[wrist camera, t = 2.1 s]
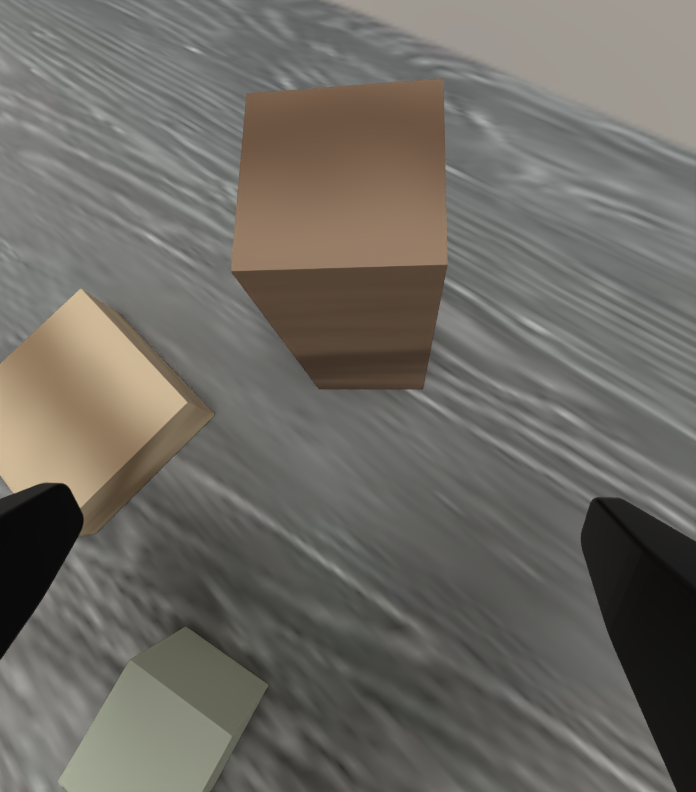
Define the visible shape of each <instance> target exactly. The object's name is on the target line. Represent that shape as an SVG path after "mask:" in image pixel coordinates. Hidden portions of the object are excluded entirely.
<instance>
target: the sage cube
mask: <svg viewBox="0 0 696 792" xmlns="http://www.w3.org/2000/svg"><path fill="white" fill-rule="evenodd" d="M267 687H268V684H267V683H265V682H264V681H262V680H261V679H259V678H258V677H257V676H255V675H254V674H252V673H251V672H250V671H248V670H247V669H245V668H244V667H243V666H241V665H240V664H238V663H237V662H235V661H234V660H233V659H231V658H230V657H228V656H227V655H226V654H224V653H223V652H221V651H220V650H218V649H217V648H216V647H214V646H213V645H211V644H210V643H209V642H207V641H206V640H204V639H203V638H201V637H200V636H199V635H197V634H196V633H194V632H193V631H192V630H190V629H189V628H187V627H184V628H182V629H181V630H179V631H177V632H176V633H174V634H172V635H171V636H169V637H167V638H165V639H164V640H162V641H160V642H159V643H157V644H155V645H154V646H152V647H150V648H149V649H147V650H145V651H144V652H142V653H140V654H139V655H137V656H135V657H133V658H132V659H130V660H129V662H128V664H127V665H126V667H125V669H124V670H123V672H122V674H121V676H120V677H119V679H118V681H117V682H116V684H115V686H114V687H113V689H112V691H111V693H110V694H109V696H108V698H107V699H106V701H105V703H104V704H103V706H102V708H101V710H100V711H99V713H98V715H97V716H96V718H95V720H94V721H93V723H92V725H91V726H90V728H89V730H88V732H87V733H86V735H85V737H84V738H83V740H82V742H81V743H80V745H79V747H78V749H77V750H76V752H75V754H74V755H73V757H72V759H71V760H70V762H69V764H68V766H67V767H66V769H65V771H64V772H63V774H62V776H61V777H60V779H59V781H58V783H59V784H60V785H61V786H62V787H63V788H65V789H66V790H67V791H68V792H211V790H212V789H213V787H214V785H215V783H216V781H217V780H218V778H219V776H220V774H221V772H222V770H223V768H224V767H225V765H226V763H227V761H228V759H229V757H230V756H231V754H232V752H233V750H234V748H235V746H236V744H237V743H238V741H239V739H240V737H241V735H242V733H243V732H244V730H245V728H246V726H247V724H248V722H249V720H250V719H251V717H252V715H253V713H254V711H255V709H256V707H257V706H258V704H259V702H260V700H261V698H262V696H263V695H264V693H265V691H266V689H267Z"/></svg>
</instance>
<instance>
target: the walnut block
mask: <svg viewBox="0 0 696 792" xmlns="http://www.w3.org/2000/svg"><path fill="white" fill-rule="evenodd" d="M446 269H447V221H446V173H445V126H444V79H430V80H417V81H404V82H390V83H377V84H364V85H351V86H338V87H325V88H311V89H298V90H285V91H272V92H259V93H247V94H246V105H245V116H244V127H243V139H242V150H241V161H240V172H239V183H238V195H237V206H236V217H235V228H234V239H233V251H232V262H231V272H232V274H233V275H234V276H235V278H236V279H237V280H238V282H239V283H240V284H241V286H242V287H243V288H244V290H245V291H246V292H247V294H248V295H249V296H250V298H251V299H252V300H253V302H254V303H255V304H256V306H257V307H258V308H259V310H260V311H261V312H262V314H263V315H264V316H265V318H266V319H267V320H268V322H269V323H270V324H271V326H272V327H273V328H274V330H275V331H276V332H277V334H278V335H279V336H280V338H281V339H282V340H283V342H284V343H285V344H286V346H287V347H288V348H289V350H290V351H291V352H292V354H293V355H294V356H295V358H296V359H297V360H298V362H299V363H300V364H301V366H302V367H303V368H304V370H305V371H306V372H307V374H308V375H309V376H310V378H311V379H312V380H313V382H314V383H315V384H316V386H317V387H318V388H319V389H423V386H424V381H425V376H426V371H427V366H428V361H429V356H430V351H431V346H432V340H433V335H434V330H435V325H436V320H437V315H438V310H439V305H440V300H441V295H442V290H443V285H444V279H445V274H446Z"/></svg>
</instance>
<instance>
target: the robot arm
mask: <svg viewBox="0 0 696 792" xmlns="http://www.w3.org/2000/svg"><path fill="white" fill-rule="evenodd" d="M83 524H84V515H83V513H82V511H81V509H80V507H79V505H78V503H77V501H76V499H75V497H74V495H73V493H72V491H71V489H70V488H69V487H68V486H67V485H66V484H64V483H48V482H45V483H41V484H37V485H35V486H32V487H30V488H27V489H24V490H22V491H19V492H17V493H14V494H12V495H9V496H6V497H4V498H1V499H0V660H1V658H2V657H3V656H4V654H5V653H6V651H7V650H8V648H9V647H10V646H11V644H12V643H13V641H14V640H15V638H16V637H17V635H18V634H19V633H20V631H21V630H22V628H23V627H24V625H25V624H26V623H27V621H28V620H29V618H30V617H31V615H32V614H33V612H34V611H35V609H36V608H37V606H38V605H39V603H40V602H41V600H42V599H43V597H44V595H45V594H46V592H47V590H48V589H49V587H50V585H51V584H52V582H53V580H54V578H55V576H56V575H57V573H58V571H59V569H60V568H61V566H62V564H63V562H64V561H65V559H66V557H67V555H68V554H69V552H70V550H71V548H72V547H73V545H74V543H75V541H76V540H77V538H78V536H79V534H80V532H81V530H82V528H83ZM581 546H582V551H583V554H584V557H585V561H586V564H587V567H588V570H589V574H590V577H591V580H592V583H593V587H594V590H595V593H596V597H597V600H598V603H599V606H600V610H601V613H602V616H603V619H604V622H605V625H606V628H607V631H608V634H609V637H610V639H611V641H612V644H613V646H614V649H615V651H616V653H617V656H618V658H619V660H620V663H621V665H622V667H623V669H624V672H625V674H626V676H627V679H628V681H629V683H630V685H631V688H632V690H633V692H634V695H635V697H636V699H637V702H638V704H639V706H640V708H641V711H642V713H643V715H644V718H645V720H646V722H647V724H648V727H649V729H650V731H651V734H652V736H653V738H654V740H655V743H656V745H657V747H658V750H659V752H660V754H661V756H662V759H663V761H664V763H665V766H666V768H667V770H668V772H669V775H670V777H671V779H672V782H673V784H674V786H675V788H676V791H677V792H696V541H694V540H692V539H691V538H689V537H687V536H685V535H684V534H682V533H680V532H679V531H677V530H675V529H673V528H672V527H670V526H668V525H667V524H665V523H663V522H661V521H660V520H658V519H656V518H655V517H653V516H651V515H649V514H648V513H646V512H644V511H642V510H641V509H639V508H637V507H636V506H634V505H632V504H630V503H629V502H627V501H625V500H623V499H621V498H611V497H596V498H594V499H593V500H592V501H591V503H590V505H589V509H588V512H587V515H586V519H585V522H584V525H583V528H582V532H581Z"/></svg>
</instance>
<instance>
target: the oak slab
mask: <svg viewBox="0 0 696 792" xmlns="http://www.w3.org/2000/svg"><path fill="white" fill-rule="evenodd" d="M214 415H215V414H214V413H213V412H212V411H211V410H210V409H209V408H208V407H207V406H206V405H205V404H204V403H203V402H202V401H201V399H200V398H199V397H198V396H197V395H196V394H195V393H194V392H193V391H192V390H191V389H190V388H189V387H188V386H187V385H186V384H185V383H184V382H183V380H182V379H181V378H180V377H179V376H178V375H177V374H176V373H175V372H174V371H173V370H172V369H171V368H170V367H169V366H168V365H167V364H166V363H165V361H164V360H163V359H162V358H161V357H160V356H159V355H158V354H157V353H156V352H155V351H154V350H153V349H152V348H151V347H150V346H149V345H148V344H147V342H146V341H145V340H144V339H143V338H142V337H141V336H140V335H139V334H138V333H137V332H136V331H135V330H134V329H133V328H132V327H131V326H130V325H129V323H128V322H127V321H126V320H125V319H124V318H123V317H122V316H121V315H120V314H119V313H118V312H116V311H115V310H113V309H112V308H110V307H108V306H107V305H105V304H104V303H102V302H101V301H99V300H98V299H96V298H95V297H93V296H92V295H90V294H89V293H87V292H86V291H84V290H83V289H80V290H79V291H78V292H77V293H76V294H74V295H73V296H72V297H71V298H70V299H69V300H68V301H67V302H66V303H65V304H64V305H63V306H62V307H61V308H59V309H58V310H57V311H56V312H55V313H54V314H53V315H52V316H51V317H50V318H49V319H48V320H47V321H46V322H44V323H43V324H42V325H41V326H40V327H39V328H38V329H37V330H36V331H35V332H34V333H33V334H32V335H31V336H30V337H28V338H27V339H26V340H25V341H24V342H23V343H22V344H21V345H20V346H19V347H18V348H17V349H16V350H15V351H13V352H12V353H11V354H10V355H9V356H8V357H7V358H6V359H5V360H4V361H3V362H2V363H1V364H0V476H1V477H2V478H3V480H4V481H5V482H6V484H7V485H8V486H9V488H10V489H11V490H12V492H13V493H17V492H19V491H22V490H24V489H27V488H30V487H32V486H35V485H37V484H41V483H45V482H48V483H64V484H66V485H67V486H68V487H69V488H70V489H71V491H72V493H73V495H74V497H75V499H76V501H77V503H78V505H79V507H80V509H81V511H82V513H83V515H84V524H83V528H82V530H81V532H80V534H79V536H82V535H91V534H96V533H97V532H98V531H99V530H100V529H101V528H102V527H103V526H104V525H105V524H106V523H107V522H108V521H109V520H110V519H111V518H112V517H113V516H114V515H115V514H116V513H117V512H118V511H119V510H120V509H121V508H122V507H123V506H124V505H125V504H126V503H127V502H128V501H129V500H130V499H131V498H132V497H133V496H134V495H135V494H136V493H137V492H138V491H139V490H140V489H141V488H142V487H143V486H144V485H145V484H146V483H147V482H148V481H149V480H150V479H151V478H152V477H153V476H154V475H155V474H156V473H157V472H158V471H159V470H160V469H161V468H162V467H163V466H164V465H165V464H166V463H167V462H168V461H169V460H170V459H171V458H172V457H173V456H174V455H175V454H176V453H177V452H178V451H179V450H180V449H181V448H182V447H183V446H184V445H185V444H186V443H187V442H188V441H189V440H190V439H191V438H192V437H193V436H194V435H195V434H196V433H197V432H198V431H199V430H200V429H201V428H202V427H203V426H204V425H205V424H206V423H207V422H208V421H209V420H210V419H211V418H212V417H213V416H214Z"/></svg>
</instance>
